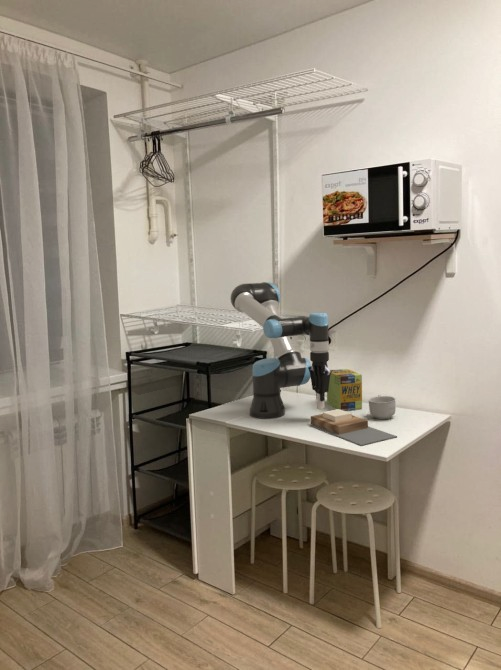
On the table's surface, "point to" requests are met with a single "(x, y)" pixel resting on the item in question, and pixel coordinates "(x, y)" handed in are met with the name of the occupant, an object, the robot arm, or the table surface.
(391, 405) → the teacup
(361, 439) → the mat
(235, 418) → the table surface
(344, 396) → the protein box
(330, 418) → the coaster
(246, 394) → the table surface
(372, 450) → the table surface
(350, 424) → the stand
